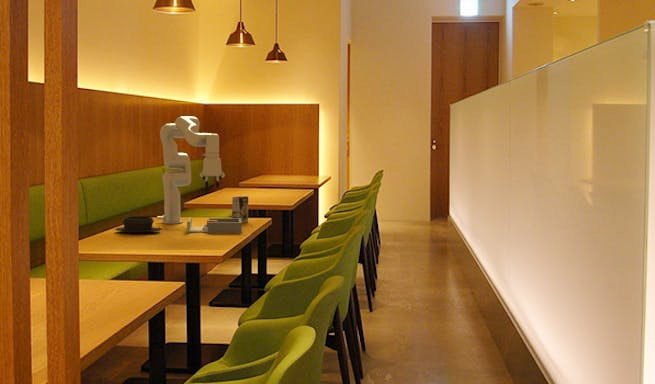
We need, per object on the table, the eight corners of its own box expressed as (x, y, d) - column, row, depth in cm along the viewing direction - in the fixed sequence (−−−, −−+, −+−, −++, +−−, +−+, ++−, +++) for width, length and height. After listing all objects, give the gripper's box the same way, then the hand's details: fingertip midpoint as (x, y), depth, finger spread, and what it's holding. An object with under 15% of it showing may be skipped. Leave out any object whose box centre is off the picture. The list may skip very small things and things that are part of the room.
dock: (207, 233, 406) (207, 222, 405) (209, 228, 425) (209, 218, 425) (241, 233, 408) (241, 222, 408) (241, 228, 428) (241, 218, 427)
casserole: (165, 231, 413) (165, 216, 412) (155, 235, 395) (154, 220, 394) (122, 229, 415) (122, 215, 415) (109, 234, 397) (109, 219, 396)
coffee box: (240, 223, 448) (240, 197, 447) (231, 223, 451) (231, 196, 449) (248, 222, 456) (248, 196, 455) (239, 221, 459) (239, 195, 458)
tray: (186, 232, 404) (186, 221, 404) (189, 227, 424) (189, 217, 424) (222, 232, 407) (222, 221, 406) (223, 227, 427) (223, 217, 426)
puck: (206, 229, 413) (206, 221, 412) (207, 227, 418) (207, 220, 418) (217, 229, 413) (217, 221, 413) (217, 227, 419) (217, 220, 419)
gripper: (196, 156, 408) (196, 188, 409) (227, 156, 410) (227, 188, 411) (197, 155, 415) (197, 187, 417) (227, 155, 417) (227, 187, 419)
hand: (212, 187), depth 414 cm, fingers open, 4 cm apart
